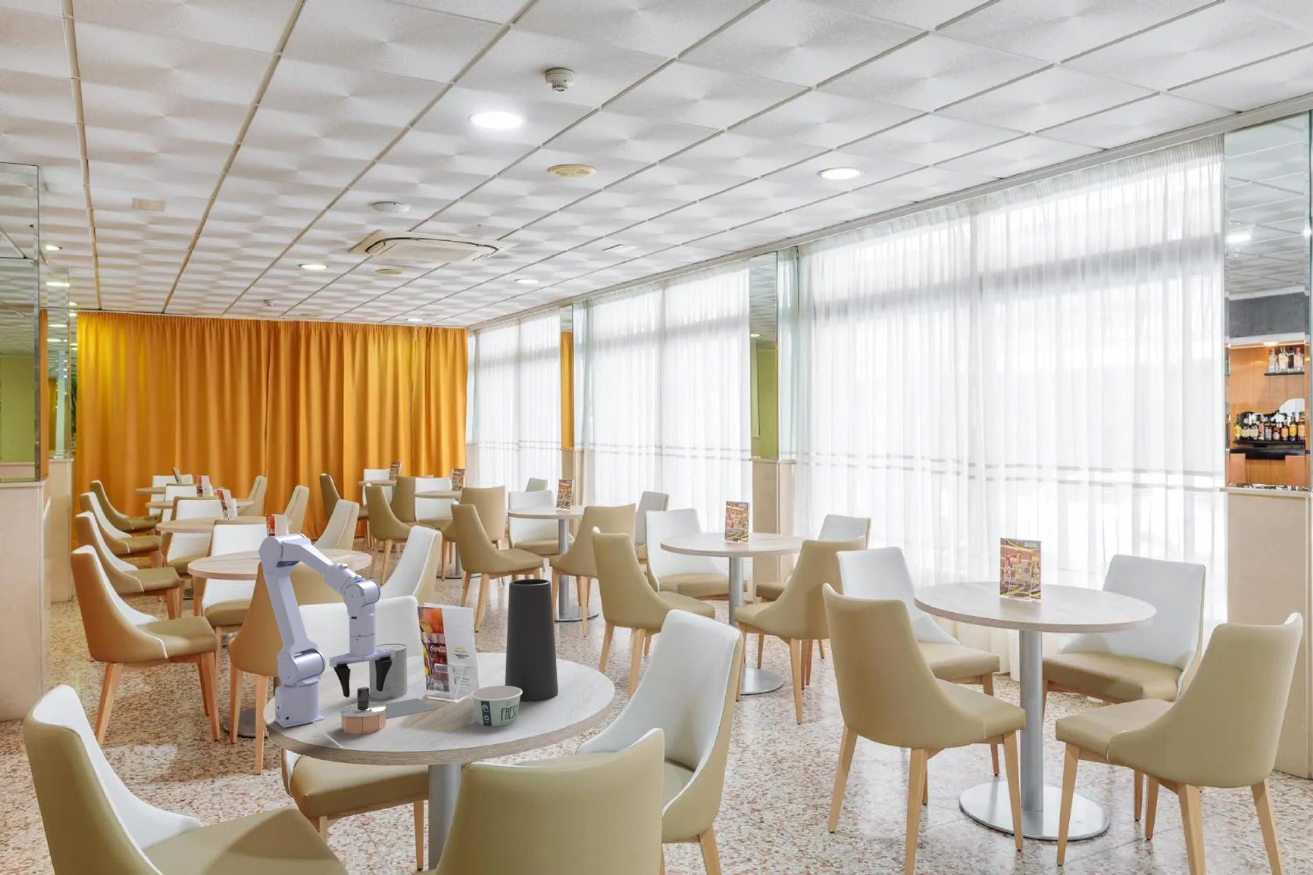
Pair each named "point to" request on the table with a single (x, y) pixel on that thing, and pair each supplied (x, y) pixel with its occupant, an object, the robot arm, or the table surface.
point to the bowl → (363, 724)
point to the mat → (406, 708)
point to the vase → (531, 640)
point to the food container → (496, 705)
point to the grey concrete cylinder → (391, 674)
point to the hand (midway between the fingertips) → (363, 693)
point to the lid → (363, 706)
